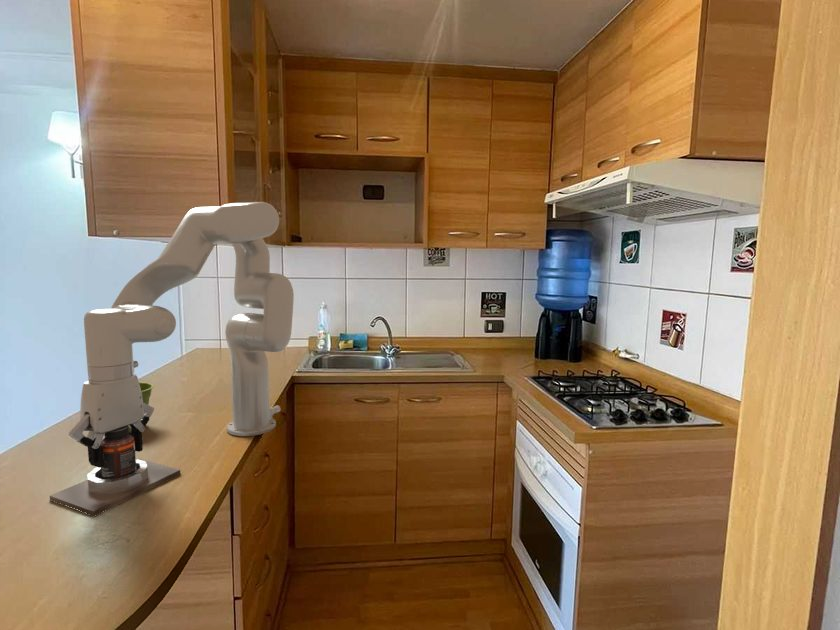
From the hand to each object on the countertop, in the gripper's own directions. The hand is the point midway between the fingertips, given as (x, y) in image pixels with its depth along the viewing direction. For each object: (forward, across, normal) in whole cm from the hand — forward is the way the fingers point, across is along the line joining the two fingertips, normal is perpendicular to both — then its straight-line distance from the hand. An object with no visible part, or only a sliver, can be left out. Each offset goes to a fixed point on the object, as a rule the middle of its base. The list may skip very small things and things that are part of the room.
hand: (117, 457), depth 93 cm
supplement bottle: (+6, 0, 0) cm, 6 cm away
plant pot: (+7, -22, -28) cm, 36 cm away
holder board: (+6, 0, 0) cm, 6 cm away
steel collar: (+6, 0, 0) cm, 6 cm away
